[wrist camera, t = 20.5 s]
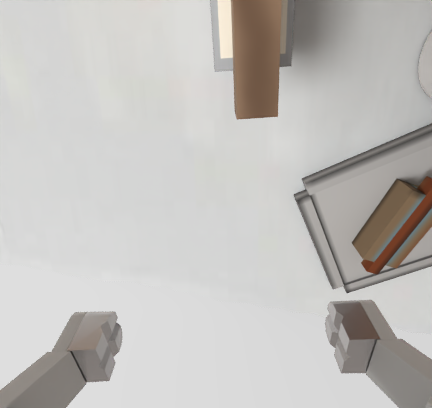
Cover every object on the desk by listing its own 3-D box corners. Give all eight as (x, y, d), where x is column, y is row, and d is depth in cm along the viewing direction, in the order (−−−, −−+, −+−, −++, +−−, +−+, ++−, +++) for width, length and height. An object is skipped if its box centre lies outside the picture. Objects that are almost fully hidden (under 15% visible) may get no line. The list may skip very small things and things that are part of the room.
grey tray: (469, 240, 60) (500, 264, 53) (331, 286, 67) (343, 312, 60) (459, 110, 47) (498, 120, 41) (288, 182, 54) (298, 201, 47)
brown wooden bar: (288, -117, 23) (309, -167, 18) (280, 108, 31) (292, 120, 26) (214, -109, 23) (213, -156, 18) (225, 112, 31) (227, 124, 26)
